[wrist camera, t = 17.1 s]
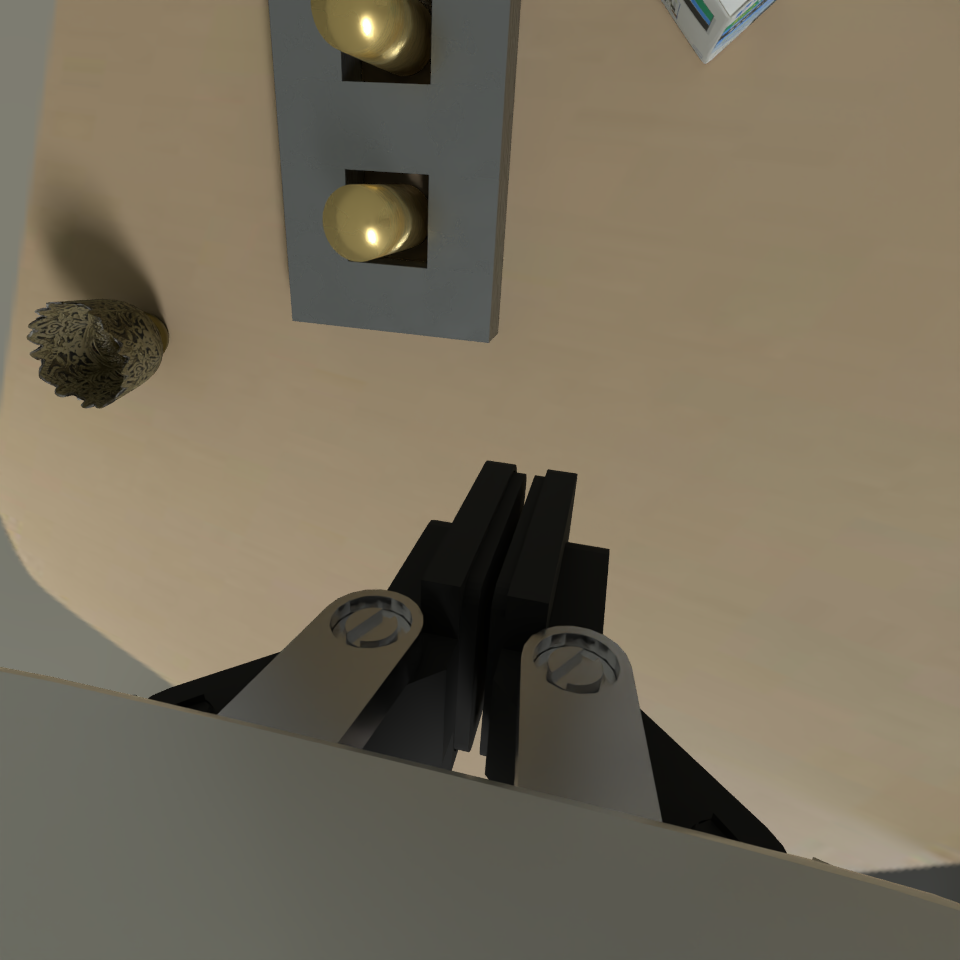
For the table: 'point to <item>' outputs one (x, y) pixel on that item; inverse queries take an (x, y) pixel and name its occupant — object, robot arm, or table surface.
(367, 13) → the seated bushing
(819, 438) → the table surface
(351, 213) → the brass cylinder
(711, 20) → the light bulb box
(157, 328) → the cup
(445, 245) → the jig
